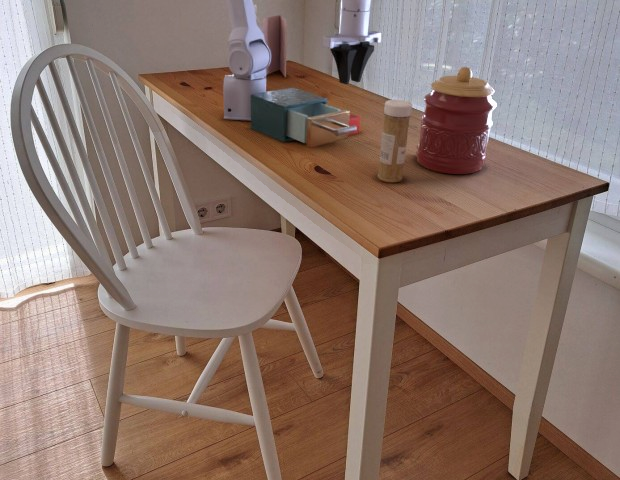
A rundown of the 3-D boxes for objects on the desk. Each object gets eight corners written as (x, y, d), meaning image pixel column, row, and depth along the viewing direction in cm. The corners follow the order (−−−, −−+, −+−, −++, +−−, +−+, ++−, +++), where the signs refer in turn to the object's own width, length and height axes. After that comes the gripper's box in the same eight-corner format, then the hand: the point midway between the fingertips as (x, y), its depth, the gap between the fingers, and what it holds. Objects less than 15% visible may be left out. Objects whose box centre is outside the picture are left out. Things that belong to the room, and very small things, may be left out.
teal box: (325, 132, 127) (327, 98, 123) (283, 142, 120) (284, 106, 117) (292, 120, 134) (293, 87, 130) (250, 128, 127) (250, 94, 123)
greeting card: (276, 68, 179) (277, 14, 171) (299, 71, 177) (300, 16, 169) (259, 75, 170) (259, 18, 162) (282, 79, 168) (283, 21, 160)
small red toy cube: (359, 132, 128) (360, 117, 126) (346, 135, 126) (347, 119, 124) (346, 128, 131) (347, 112, 129) (333, 131, 128) (334, 115, 126)
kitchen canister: (411, 150, 119) (424, 58, 110) (475, 154, 119) (494, 61, 110) (419, 173, 108) (434, 73, 99) (490, 177, 108) (511, 77, 99)
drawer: (364, 144, 119) (367, 116, 116) (326, 154, 113) (328, 125, 110) (314, 126, 128) (316, 99, 125) (277, 134, 122) (277, 106, 119)
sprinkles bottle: (406, 182, 104) (416, 105, 97) (381, 184, 103) (390, 106, 96) (397, 173, 108) (406, 98, 101) (373, 174, 107) (381, 98, 100)
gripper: (343, 14, 109) (338, 90, 116) (395, 10, 117) (387, 81, 124) (317, 9, 113) (314, 83, 120) (369, 6, 121) (363, 75, 129)
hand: (349, 82), depth 123 cm, fingers open, 3 cm apart
